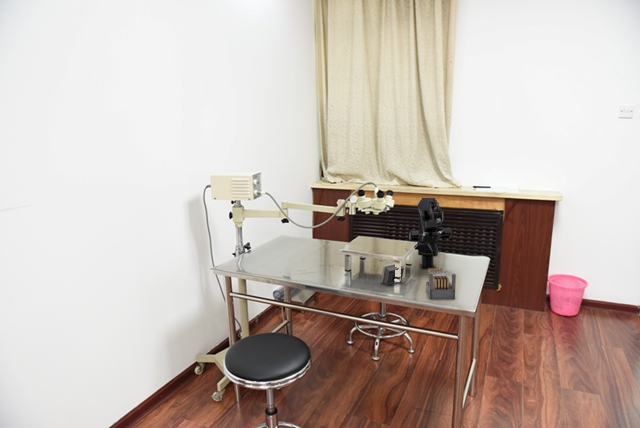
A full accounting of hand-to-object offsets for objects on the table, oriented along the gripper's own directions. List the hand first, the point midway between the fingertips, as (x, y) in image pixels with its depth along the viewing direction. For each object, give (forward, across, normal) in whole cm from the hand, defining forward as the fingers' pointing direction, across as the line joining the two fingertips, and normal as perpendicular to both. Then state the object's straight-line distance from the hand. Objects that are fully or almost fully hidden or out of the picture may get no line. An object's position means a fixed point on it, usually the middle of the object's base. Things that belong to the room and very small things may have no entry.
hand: (433, 251), depth 182 cm
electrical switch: (+12, -19, +5) cm, 23 cm away
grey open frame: (+22, -2, -5) cm, 23 cm away
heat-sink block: (+20, -2, -2) cm, 20 cm away
